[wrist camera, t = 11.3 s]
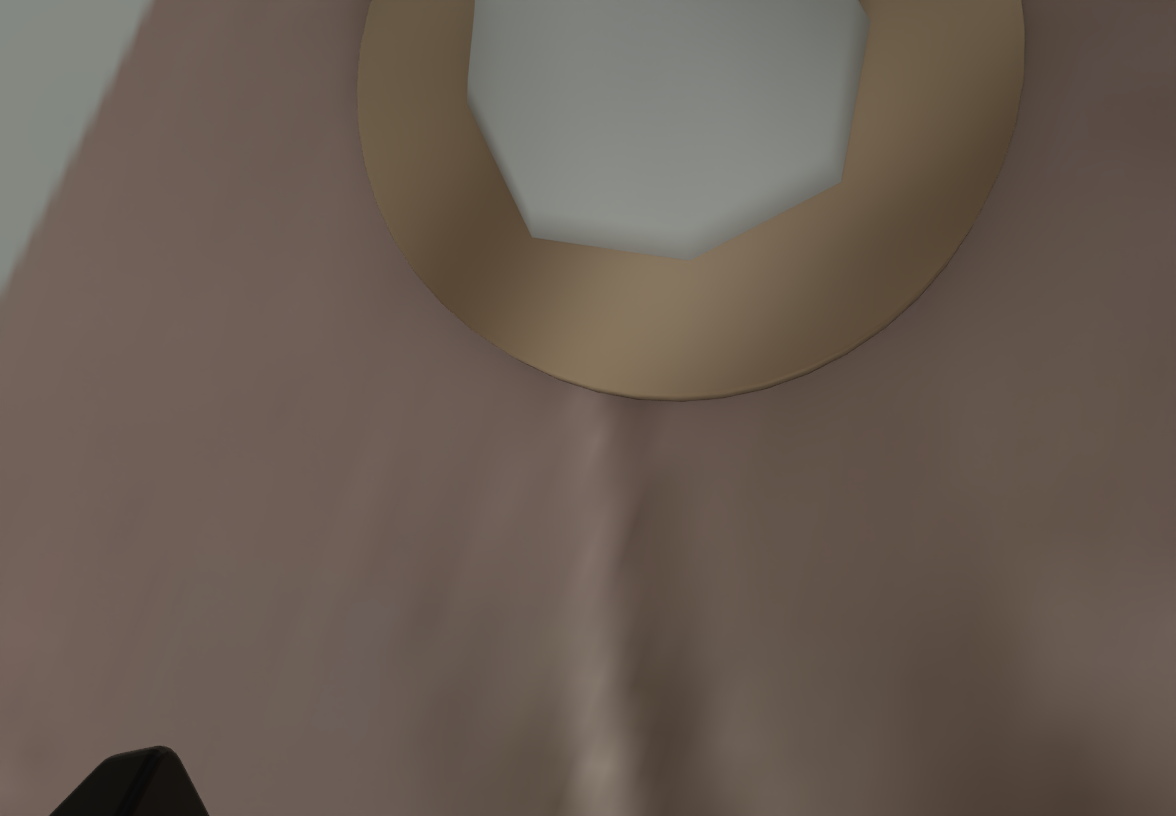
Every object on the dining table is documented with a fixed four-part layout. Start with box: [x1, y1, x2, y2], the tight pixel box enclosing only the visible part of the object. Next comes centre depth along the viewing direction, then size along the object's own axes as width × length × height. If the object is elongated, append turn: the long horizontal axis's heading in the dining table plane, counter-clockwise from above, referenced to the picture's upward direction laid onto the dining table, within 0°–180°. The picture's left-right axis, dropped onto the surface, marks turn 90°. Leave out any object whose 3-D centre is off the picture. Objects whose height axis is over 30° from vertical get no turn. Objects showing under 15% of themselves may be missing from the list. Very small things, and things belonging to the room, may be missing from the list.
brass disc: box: [357, 0, 1025, 402], centre depth 20 cm, size 12×12×1 cm
